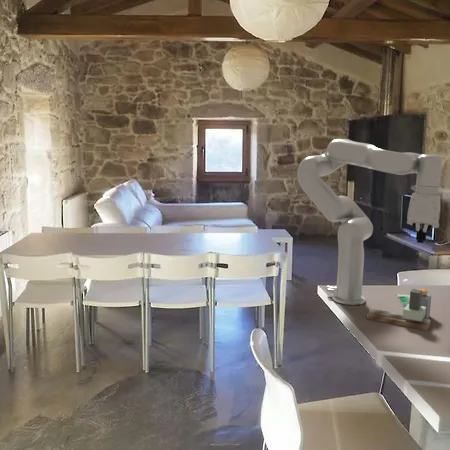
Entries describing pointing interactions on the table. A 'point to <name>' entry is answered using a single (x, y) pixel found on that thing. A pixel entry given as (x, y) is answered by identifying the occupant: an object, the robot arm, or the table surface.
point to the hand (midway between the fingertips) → (420, 242)
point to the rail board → (397, 319)
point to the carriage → (415, 306)
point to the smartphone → (403, 299)
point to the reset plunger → (423, 292)
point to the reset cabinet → (426, 304)
